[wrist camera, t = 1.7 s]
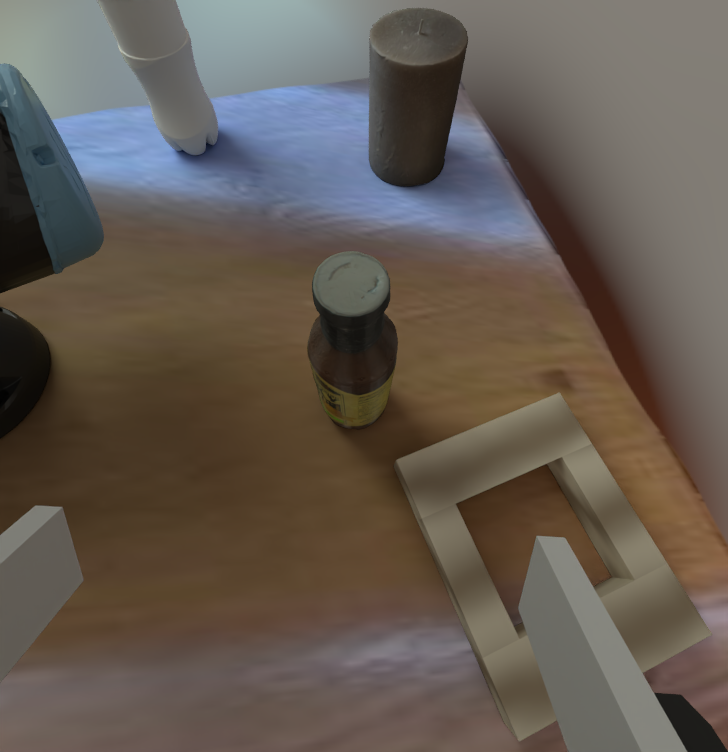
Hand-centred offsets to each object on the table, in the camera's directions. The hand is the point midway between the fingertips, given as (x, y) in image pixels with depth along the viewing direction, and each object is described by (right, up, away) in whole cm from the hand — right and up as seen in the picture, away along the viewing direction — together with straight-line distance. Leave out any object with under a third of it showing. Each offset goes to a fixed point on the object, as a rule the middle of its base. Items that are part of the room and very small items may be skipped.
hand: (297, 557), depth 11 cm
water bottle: (-20, +36, +41) cm, 58 cm away
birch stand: (+16, -9, +23) cm, 29 cm away
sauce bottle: (+1, +3, +28) cm, 28 cm away
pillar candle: (+7, +33, +40) cm, 52 cm away
